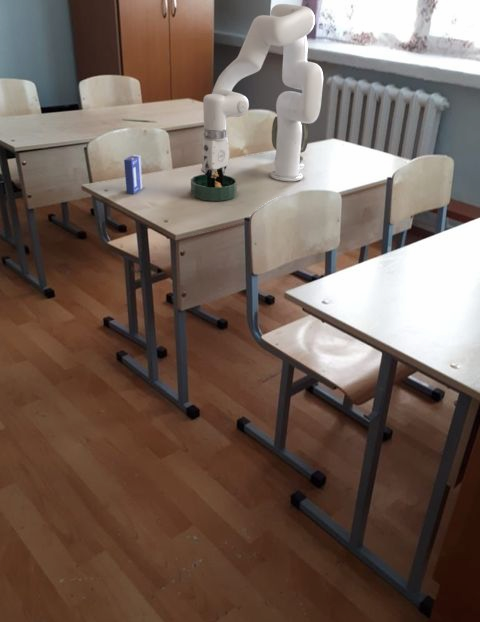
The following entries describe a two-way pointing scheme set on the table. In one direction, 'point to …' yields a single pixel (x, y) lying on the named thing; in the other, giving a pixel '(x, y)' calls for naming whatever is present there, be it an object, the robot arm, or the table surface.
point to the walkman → (133, 174)
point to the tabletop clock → (303, 141)
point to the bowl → (213, 189)
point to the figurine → (215, 178)
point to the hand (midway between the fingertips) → (215, 186)
